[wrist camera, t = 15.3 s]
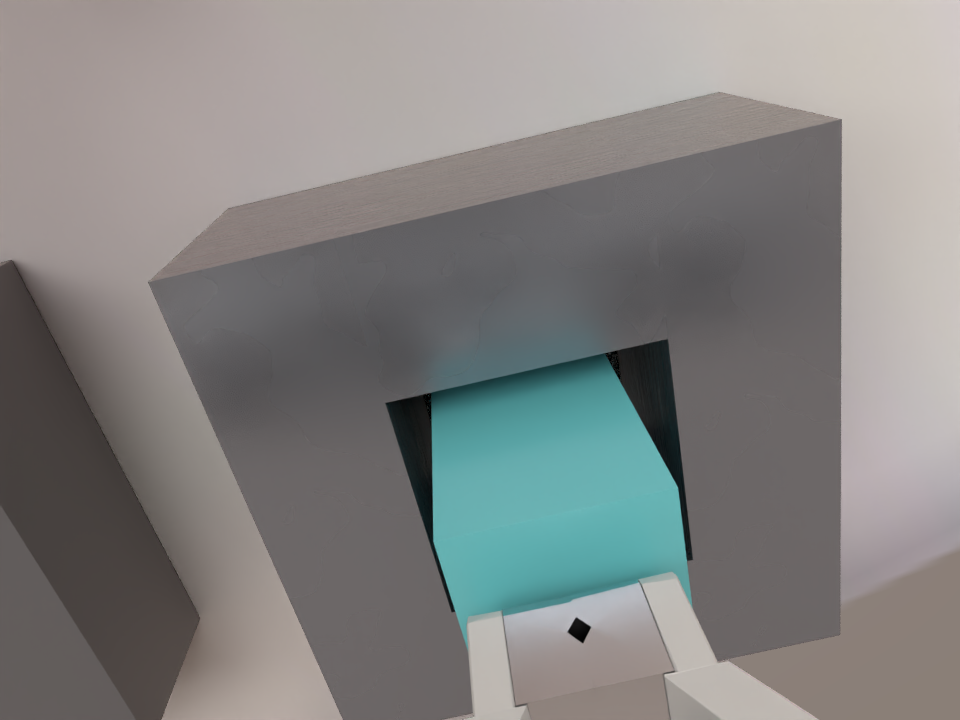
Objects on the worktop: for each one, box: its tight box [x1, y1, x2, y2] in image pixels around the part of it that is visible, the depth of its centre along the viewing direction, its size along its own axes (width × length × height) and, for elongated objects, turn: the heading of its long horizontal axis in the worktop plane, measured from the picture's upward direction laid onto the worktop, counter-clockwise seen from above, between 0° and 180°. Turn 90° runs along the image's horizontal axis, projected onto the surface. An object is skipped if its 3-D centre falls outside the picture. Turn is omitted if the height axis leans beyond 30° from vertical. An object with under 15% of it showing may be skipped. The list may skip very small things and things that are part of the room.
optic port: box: [148, 92, 842, 720], centre depth 16 cm, size 11×11×5 cm
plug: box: [431, 353, 693, 650], centre depth 14 cm, size 4×4×8 cm
